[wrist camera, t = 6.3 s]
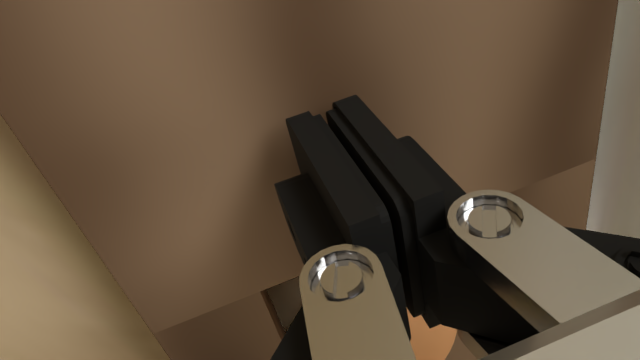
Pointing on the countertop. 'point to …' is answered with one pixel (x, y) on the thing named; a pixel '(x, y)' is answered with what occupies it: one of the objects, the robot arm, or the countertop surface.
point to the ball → (430, 339)
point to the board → (283, 128)
